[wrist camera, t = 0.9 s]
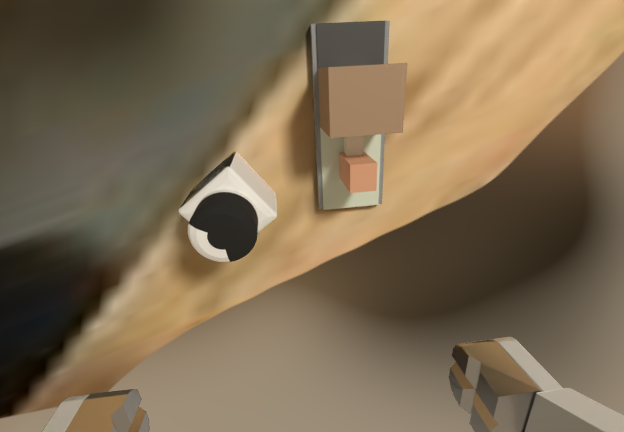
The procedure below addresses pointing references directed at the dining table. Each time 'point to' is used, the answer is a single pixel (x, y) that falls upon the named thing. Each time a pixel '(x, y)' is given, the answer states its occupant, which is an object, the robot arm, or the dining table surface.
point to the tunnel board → (353, 102)
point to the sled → (357, 166)
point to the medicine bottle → (228, 210)
